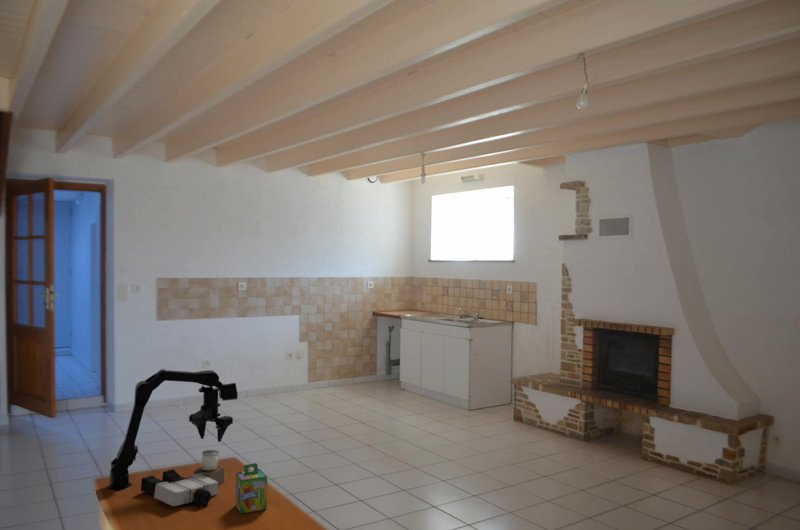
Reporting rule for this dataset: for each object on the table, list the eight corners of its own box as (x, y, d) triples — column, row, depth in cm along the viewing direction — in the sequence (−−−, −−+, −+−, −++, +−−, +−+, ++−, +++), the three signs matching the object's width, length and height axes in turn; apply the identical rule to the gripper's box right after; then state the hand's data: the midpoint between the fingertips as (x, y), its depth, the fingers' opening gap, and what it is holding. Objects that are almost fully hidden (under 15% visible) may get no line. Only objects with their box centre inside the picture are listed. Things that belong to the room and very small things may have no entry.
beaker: (197, 467, 223) (199, 451, 223) (211, 464, 228) (212, 449, 228) (207, 471, 219) (208, 455, 220) (221, 468, 224) (222, 452, 225)
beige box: (193, 486, 221) (193, 470, 221) (207, 479, 229) (207, 464, 229) (210, 489, 218) (210, 473, 218) (224, 482, 226) (224, 466, 226)
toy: (133, 494, 212) (182, 516, 195) (134, 475, 212) (183, 495, 195) (179, 482, 228) (228, 501, 210) (180, 464, 228) (229, 482, 211)
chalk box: (240, 515, 196) (240, 471, 196) (234, 505, 204) (235, 463, 204) (267, 509, 200) (267, 466, 200) (261, 500, 208) (261, 459, 208)
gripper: (178, 403, 233) (178, 442, 233) (213, 408, 225) (213, 448, 225) (199, 398, 243) (199, 435, 243) (233, 402, 235) (233, 441, 235)
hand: (210, 440), depth 237 cm, fingers open, 9 cm apart
